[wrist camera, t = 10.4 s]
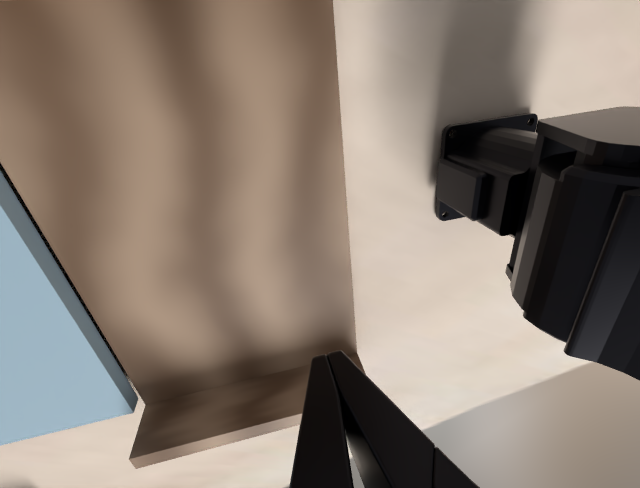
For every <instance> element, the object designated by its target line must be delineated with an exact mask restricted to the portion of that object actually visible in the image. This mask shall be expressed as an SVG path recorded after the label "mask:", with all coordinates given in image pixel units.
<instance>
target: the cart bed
mask: <svg viewBox="0 0 640 488" xmlns="http://www.w3.org/2000/svg"><path fill="white" fill-rule="evenodd" d="M0 163H1V164H2V166H3V168H4V169H5V171H6V173H7V174H8V176H9V178H10V179H11V181H12V183H13V184H14V186H15V188H16V189H17V191H18V193H19V194H20V196H21V198H22V199H23V201H24V203H25V204H26V206H27V208H28V209H29V211H30V213H31V214H32V216H33V218H34V219H35V221H36V223H37V224H38V226H39V228H40V229H41V231H42V233H43V234H44V236H45V238H46V239H47V241H48V243H49V244H50V246H51V248H52V249H53V251H54V253H55V254H56V256H57V258H58V259H59V261H60V263H61V264H62V266H63V268H64V269H65V271H66V273H67V274H68V276H69V278H70V279H71V281H72V283H73V284H74V286H75V288H76V289H77V291H78V293H79V294H80V296H81V298H82V299H83V301H84V303H85V304H86V306H87V308H88V309H89V311H90V313H91V314H92V316H93V318H94V320H95V321H96V323H97V325H98V326H99V328H100V330H101V331H102V333H103V335H104V336H105V338H106V340H107V341H108V343H109V345H110V346H111V348H112V350H113V351H114V353H115V355H116V356H117V358H118V360H119V361H120V363H121V365H122V366H123V368H124V370H125V371H126V373H127V375H128V376H129V378H130V380H131V381H132V383H133V385H134V386H135V388H136V390H137V391H138V393H139V395H140V396H141V398H142V400H143V401H144V403H145V409H144V412H143V415H142V418H141V422H140V425H139V428H138V431H137V435H136V438H135V441H134V444H133V448H132V451H131V454H130V458H129V460H130V461H131V463H132V464H133V465H134V467H135V468H136V469H137V468H141V467H145V466H148V465H152V464H156V463H160V462H163V461H167V460H171V459H174V458H178V457H182V456H185V455H189V454H193V453H197V452H200V451H204V450H208V449H211V448H215V447H219V446H222V445H226V444H230V443H234V442H237V441H241V440H245V439H248V438H252V437H256V436H259V435H263V434H267V433H271V432H274V431H278V430H282V429H285V428H289V427H293V426H297V425H300V424H301V418H302V412H303V406H304V400H305V395H306V389H307V383H308V377H309V371H310V366H311V360H312V358H313V357H314V356H317V355H321V354H326V355H327V354H328V353H329V352H333V351H337V350H341V351H343V352H344V353H345V354H346V355H347V356H348V357H349V358H350V359H351V360H352V361H353V362H354V363H355V364H356V365H357V366H358V367H359V368H360V369H361V371H362V372H363V373H364V374H365V371H364V369H363V367H362V364H361V362H360V359H359V357H358V354H357V346H356V331H355V317H354V302H353V288H352V273H351V259H350V244H349V230H348V215H347V201H346V186H345V172H344V157H343V143H342V128H341V114H340V100H339V85H338V71H337V56H336V42H335V27H334V13H333V0H0ZM365 375H366V374H365Z"/></svg>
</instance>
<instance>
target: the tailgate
mask: <svg viewBox="0 0 640 488" xmlns="http://www.w3.org/2000/svg"><path fill="white" fill-rule="evenodd" d="M137 401H138V397H137V395H136V393H135V392H134V390H133V388H132V387H131V385H130V383H129V382H128V380H127V378H126V377H125V375H124V374H123V372H122V370H121V369H120V367H119V365H118V364H117V362H116V360H115V359H114V357H113V355H112V354H111V352H110V350H109V349H108V347H107V345H106V344H105V342H104V341H103V339H102V337H101V336H100V334H99V332H98V331H97V329H96V327H95V326H94V324H93V322H92V321H91V319H90V317H89V316H88V314H87V313H86V311H85V309H84V308H83V306H82V304H81V303H80V301H79V299H78V298H77V296H76V294H75V293H74V291H73V289H72V288H71V286H70V285H69V283H68V281H67V280H66V278H65V276H64V275H63V273H62V271H61V270H60V268H59V266H58V265H57V263H56V261H55V260H54V258H53V256H52V255H51V253H50V252H49V250H48V248H47V247H46V245H45V243H44V242H43V240H42V238H41V237H40V235H39V233H38V232H37V230H36V228H35V227H34V225H33V224H32V222H31V220H30V219H29V217H28V215H27V214H26V212H25V210H24V209H23V207H22V205H21V204H20V202H19V200H18V199H17V197H16V195H15V194H14V192H13V191H12V189H11V187H10V186H9V184H8V182H7V181H6V179H5V177H4V176H3V174H2V172H1V171H0V445H4V444H8V443H12V442H16V441H20V440H24V439H29V438H33V437H37V436H41V435H45V434H49V433H53V432H57V431H61V430H65V429H69V428H73V427H77V426H82V425H86V424H90V423H94V422H98V421H102V420H106V419H110V418H114V417H118V416H122V415H126V414H130V413H134V410H135V407H136V404H137Z"/></svg>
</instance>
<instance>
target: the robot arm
mask: <svg viewBox="0 0 640 488" xmlns="http://www.w3.org/2000/svg"><path fill="white" fill-rule="evenodd" d="M528 120H530V121H529V123H528V124H527V122H528ZM537 121H538V123H537ZM536 126H537V128H536ZM452 130H453V135H452V136H451V137H449V134H450V132H451V131H452ZM535 130H536V132H535ZM436 198H437V206H436V216H437V218H438V219H440V220H442V221H447V220H452V219H457V218H462V217H467V218H469V219H470V220H472V221H478V222H479V223H481V224H482V225H484V226H486V227H487V228H489V229H491V230H492V231H494V232H495V233H497V234H499V235H500V236H506V235H510V236H511V237H513V238H515V240H514V245H513V249H512V254H511V258H510V263H509V264H507V267H506V274H507V276H508V278H509V279H510V281H511V284H510V286H511V291H512V296H513V297H514V299H515V300H516V302H517V303H518V304H519V306H520V307H521V308H522V309H523V310H524V312H523V316H524V318H525V319H527V320H528V321H529V322H530V323H532V324H533V325H535V326H536V327H537V328H539V329H540V330H541V331H543V332H545V333H547V334H549V335H551V336H552V337H554V338H556V339H558V340H561V341H563V342H566V346H565V348H564V352H565V353H566V354H567V355H569V356H572V357H576V358H580V359H585V360H589V361H593V362H597V363H600V364H603V365H605V366H608V367H610V368H613V369H616V370H618V371H621V372H624V373H626V374H628V375H630V376H632V377H634V378H636V379H638V380H640V107H616V108H609V109H603V110H597V111H591V112H584V113H578V114H572V115H566V116H560V117H553V118H547V119H541V120H538V117H537V115H536V114H532V113H525V114H518V115H512V116H505V117H499V118H492V119H486V120H479V121H473V122H466V123H460V124H453V125H449V126H447V127H446V128H445V129H444V130H443V133H442V143H441V156H440V161H439V163H438V175H437V188H436ZM445 211H446V212H445ZM443 212H445V214H444V215H442V214H443ZM347 442H348V445H349V448H350V450H351V453H352V456H353V458H354V461H355V463H356V466H357V469H358V471H359V474H360V477H361V479H362V482H363V485H364V487H365V488H480V487H478V486H477V485H476V484H475V483H474V482H473V481H472V480H471V479H469V478H468V477H467V476H466V475H465V474H464V473H463V472H462V471H461V470H460V469H459V468H458V467H457V466H456V465H455V464H454V463H453V462H452V461H451V460H450V459H449V458H448V457H447V456H446V455H445V454H444V453H443V452H442V451H441V450H440V449H439V448H438V447H435V445H434V443H433V442H432V441H431V440H430V439H429V438H428V437H427V436H426V435H425V434H424V433H423V432H422V431H421V430H420V429H419V428H418V427H417V426H416V425H415V424H414V423H413V422H412V421H411V420H410V419H409V418H408V417H407V416H406V415H405V414H404V413H403V412H402V411H401V410H400V409H399V408H398V407H397V406H396V405H395V404H394V403H393V402H392V401H391V400H390V399H389V398H388V397H387V396H386V395H385V394H384V393H383V392H382V391H381V390H380V389H379V388H378V387H377V386H376V385H375V384H374V383H373V382H372V381H371V380H370V379H369V378H368V377H367V376H366V375H365V374H364V373H363V372H362V371H361V369H360V368H359V367H358V366H357V365H356V364H355V363H354V362H353V361H352V360H351V359H350V358H349V357H348V356H347V355H346V354H345V353H344V352H343V351H341V350H337V351H333V352H329V353H328V354H327V355H326V354H321V355H317V356H314V357H313V358H312V360H311V366H310V371H309V377H308V383H307V389H306V395H305V400H304V406H303V412H302V418H301V424H300V429H299V435H298V441H297V447H296V453H295V458H294V464H293V470H292V476H291V482H290V487H289V488H354V486H353V479H352V473H351V466H350V459H349V453H348V446H347Z"/></svg>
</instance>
